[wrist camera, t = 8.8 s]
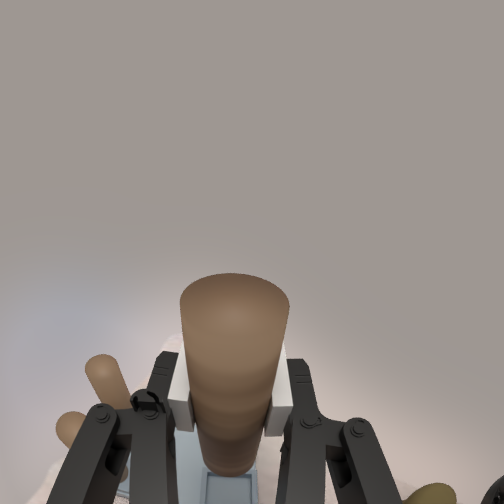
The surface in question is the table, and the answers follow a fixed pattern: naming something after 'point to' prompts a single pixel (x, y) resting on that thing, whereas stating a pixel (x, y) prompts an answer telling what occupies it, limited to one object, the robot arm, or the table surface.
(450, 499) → the cork
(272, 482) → the table surface
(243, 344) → the stool leg
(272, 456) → the table surface
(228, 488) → the stool seat
